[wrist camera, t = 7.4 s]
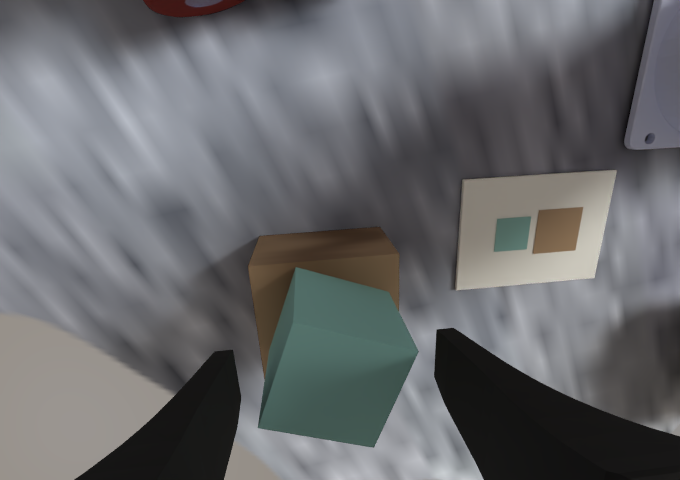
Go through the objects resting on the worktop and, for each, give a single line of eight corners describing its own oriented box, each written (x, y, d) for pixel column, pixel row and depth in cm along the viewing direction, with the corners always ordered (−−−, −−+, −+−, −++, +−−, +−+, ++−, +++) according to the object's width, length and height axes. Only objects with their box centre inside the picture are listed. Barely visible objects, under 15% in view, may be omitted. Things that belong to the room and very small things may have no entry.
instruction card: (613, 169, 18) (617, 170, 18) (591, 276, 20) (594, 278, 20) (462, 179, 17) (464, 180, 17) (455, 288, 19) (456, 290, 19)
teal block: (388, 291, 15) (418, 351, 11) (356, 368, 16) (374, 447, 12) (295, 266, 14) (293, 322, 10) (269, 350, 15) (257, 427, 11)
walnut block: (379, 225, 18) (399, 253, 14) (380, 327, 20) (398, 375, 16) (260, 234, 17) (247, 266, 14) (273, 337, 19) (266, 390, 16)
